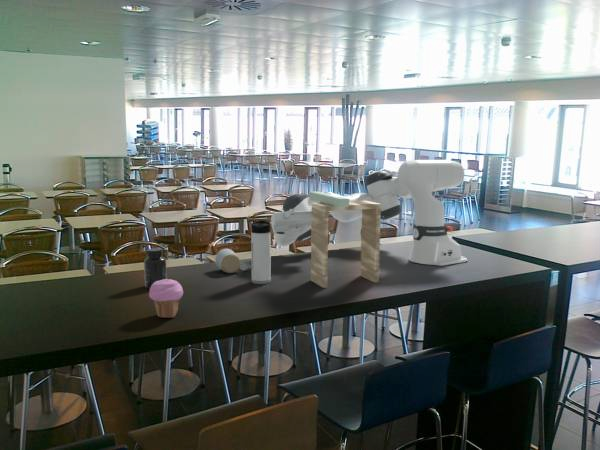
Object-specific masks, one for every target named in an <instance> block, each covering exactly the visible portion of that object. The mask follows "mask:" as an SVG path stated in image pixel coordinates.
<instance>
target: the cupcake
mask: <svg viewBox="0 0 600 450" xmlns="http://www.w3.org/2000/svg"><path fill="white" fill-rule="evenodd" d="M183 295H184V290H183V286H182V285H181V284H180V282H178V280H176V279H175V280H174V279H170V278H169V279H168V278H167V279H163V280H160V281H156V282H154V283H153V284H152V285H151V288H150V289H149V294H148V296H149V298H150V299H151V300H153V304H154V307H155V311H156V312H155V313H156V315H157V317H159V318H168V319H169V318H170V319H171V318H172V319H173V318H174V317H176V315H177V314H178V310H179V304H180V299H182V298H183Z"/></svg>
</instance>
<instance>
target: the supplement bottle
mask: <svg viewBox="0 0 600 450" xmlns="http://www.w3.org/2000/svg"><path fill="white" fill-rule="evenodd" d="M143 267H144V268H143V270H144V273H143V274H144V286H145V288H146V289H149V290H150V288H151V285H152V284H153V283H154V282H156V281H160V280H163V279H168V274H167V272H168V271H167V270H168V269H167V259H166V258H165V257H164V256H163V249H162V248H158V247H156V248H155V247H153V248H148V249H146V258H145V259H144V261H143Z"/></svg>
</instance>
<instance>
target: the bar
mask: <svg viewBox="0 0 600 450" xmlns="http://www.w3.org/2000/svg"><path fill="white" fill-rule="evenodd" d="M309 194H310V199H311V200H315V201H319V202H323V203H326V204H330V205H334V206H338V207H349V198H345V197H340V196H341V195H340V196H336V195H332V194H327V193H324V192H321V191H309Z"/></svg>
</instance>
